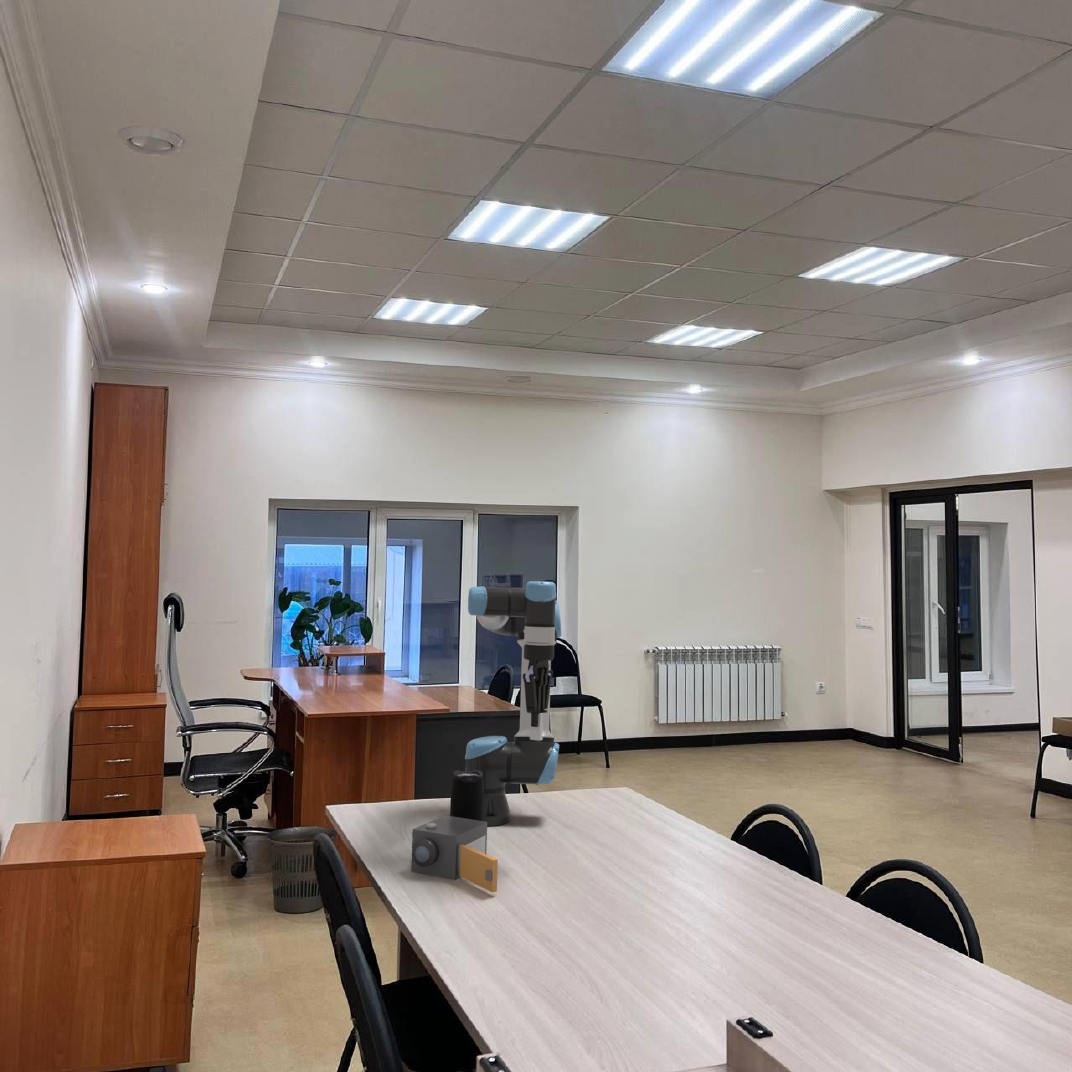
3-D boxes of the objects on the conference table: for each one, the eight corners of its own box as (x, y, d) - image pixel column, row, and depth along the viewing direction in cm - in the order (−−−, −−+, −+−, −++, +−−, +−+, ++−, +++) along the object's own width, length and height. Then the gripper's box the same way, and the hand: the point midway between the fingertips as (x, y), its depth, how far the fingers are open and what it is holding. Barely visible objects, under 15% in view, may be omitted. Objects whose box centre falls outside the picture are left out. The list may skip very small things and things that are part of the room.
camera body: (443, 855, 242) (445, 812, 243) (486, 863, 237) (488, 818, 237) (404, 874, 226) (406, 828, 227) (449, 883, 221) (451, 836, 221)
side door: (497, 891, 214) (498, 859, 214) (489, 893, 213) (490, 860, 213) (461, 874, 225) (462, 843, 225) (453, 875, 224) (454, 845, 224)
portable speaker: (479, 843, 254) (482, 768, 254) (484, 854, 244) (487, 776, 245) (447, 844, 252) (449, 768, 253) (450, 855, 243) (453, 776, 243)
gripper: (536, 641, 247) (533, 734, 246) (513, 644, 235) (510, 741, 234) (563, 643, 244) (560, 737, 243) (541, 646, 232) (538, 745, 231)
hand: (536, 739), depth 239 cm, fingers closed
